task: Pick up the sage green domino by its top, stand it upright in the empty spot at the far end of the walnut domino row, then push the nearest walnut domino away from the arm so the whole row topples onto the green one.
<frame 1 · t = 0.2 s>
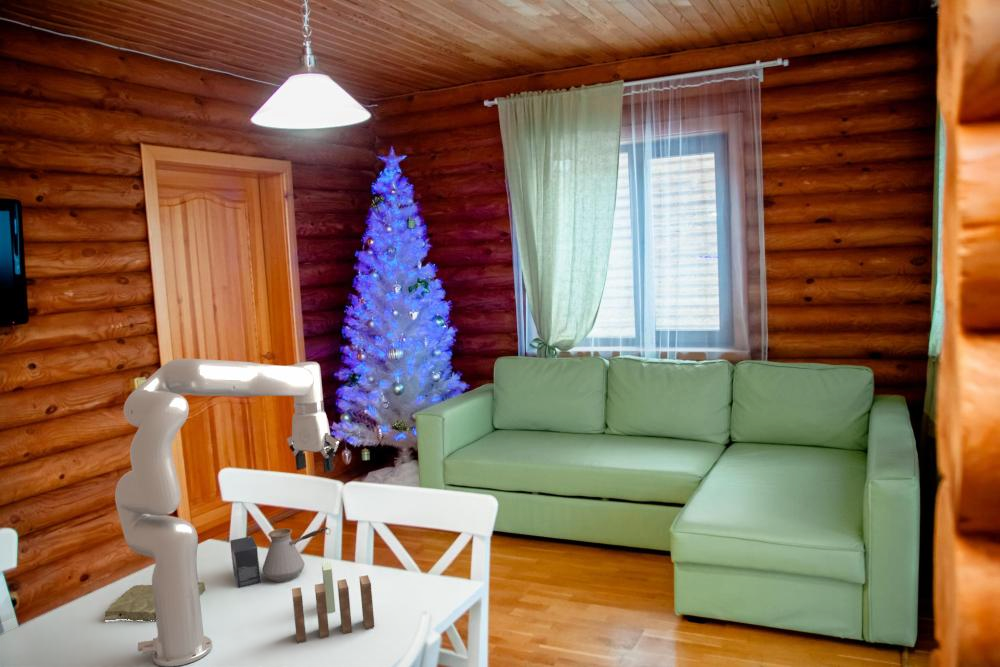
hand: (315, 470, 216), 31 cm above the table, tool pointing down, fingers open, 9 cm apart
domino 4: (368, 624, 190), on the table
decorative tile: (155, 609, 209), on the table
domino 3: (346, 628, 189), on the table
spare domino: (330, 608, 200), on the table
domino 2: (324, 633, 187), on the table
coffee pot: (299, 578, 221), on the table
domino 1: (301, 637, 186), on the table
small box: (247, 579, 223), on the table
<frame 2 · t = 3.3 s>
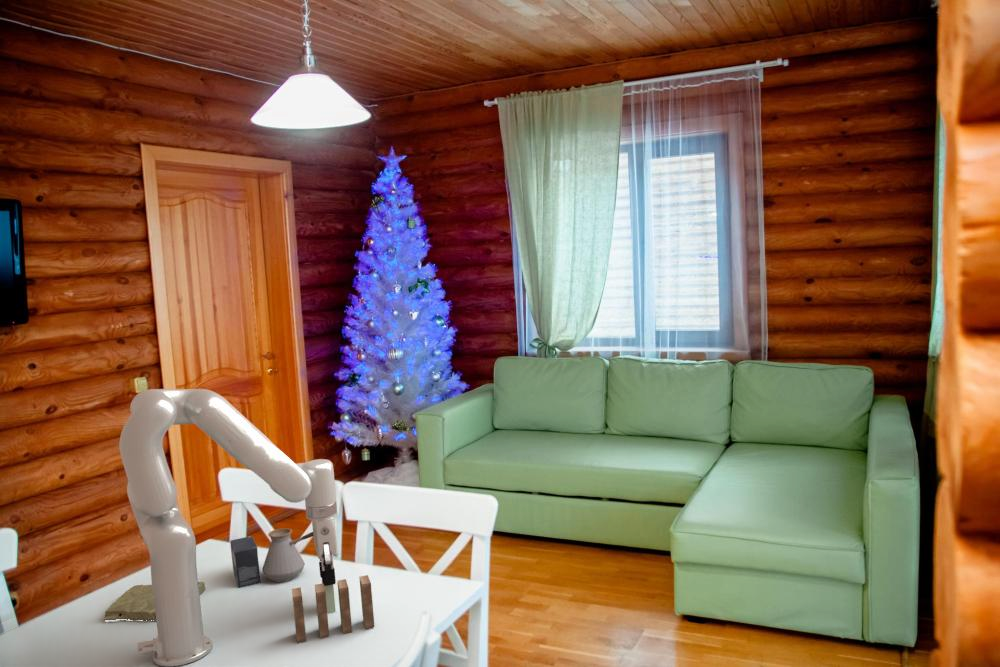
hand: (327, 579, 200), 7 cm above the table, tool pointing down, fingers closed on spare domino, 4 cm apart
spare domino: (330, 608, 200), on the table, touching gripper
everything else where it was.
when the fingers open (8 cm above the table, at t = 9.0 s): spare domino stays where it is, on the table.
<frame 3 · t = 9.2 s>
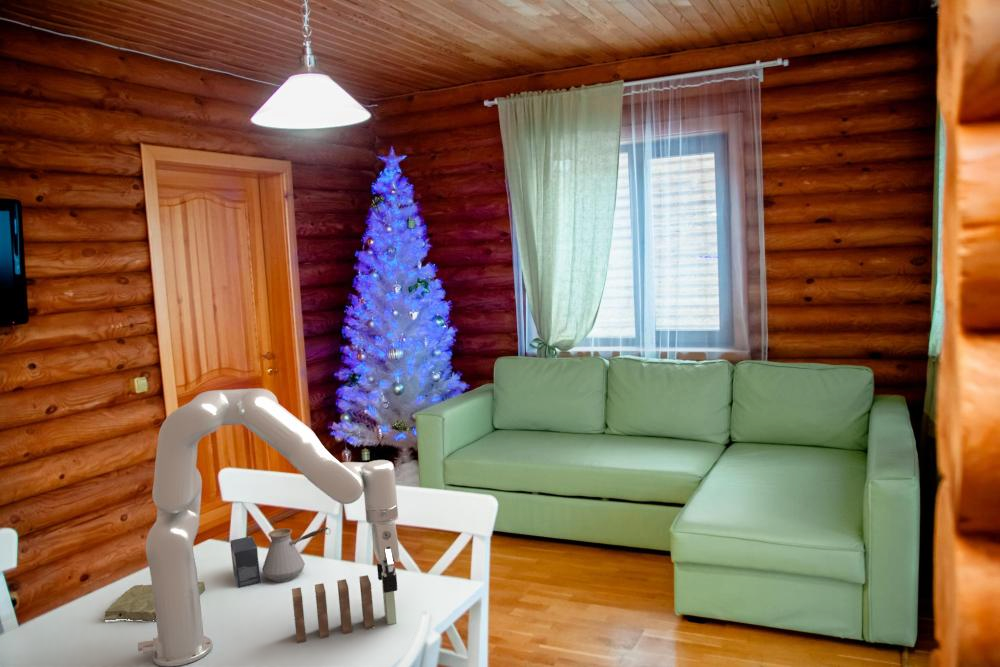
hand: (387, 584, 191), 9 cm above the table, tool pointing down, fingers open, 7 cm apart
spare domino: (390, 619, 192), on the table
everything else where it was.
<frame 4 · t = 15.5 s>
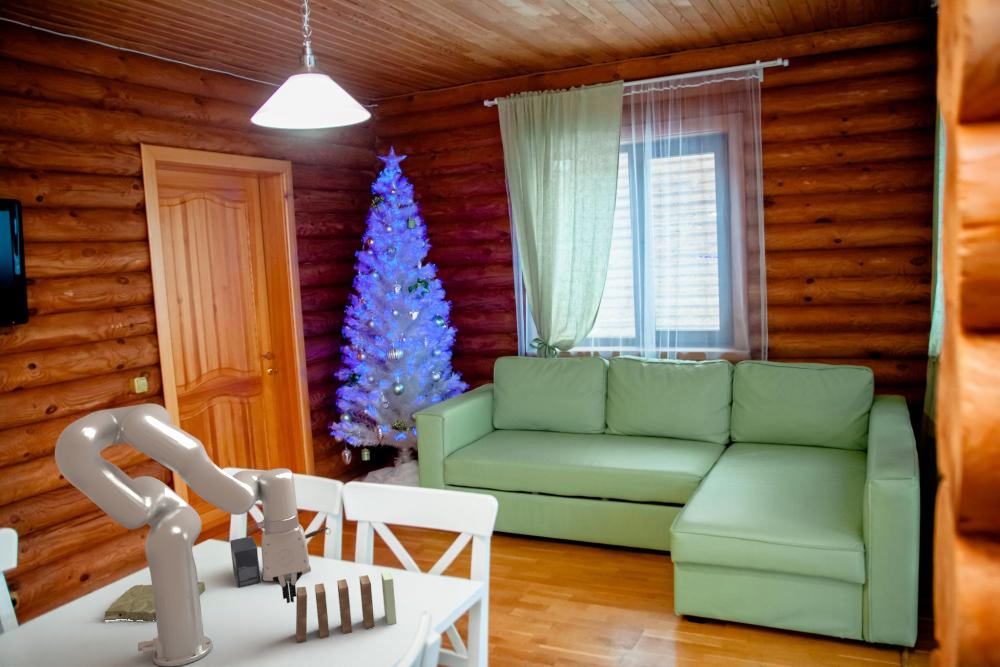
hand: (290, 600, 184), 9 cm above the table, tool pointing down, fingers closed
domino 1: (301, 637, 186), on the table, tilted 6°, touching gripper
everything else where it was.
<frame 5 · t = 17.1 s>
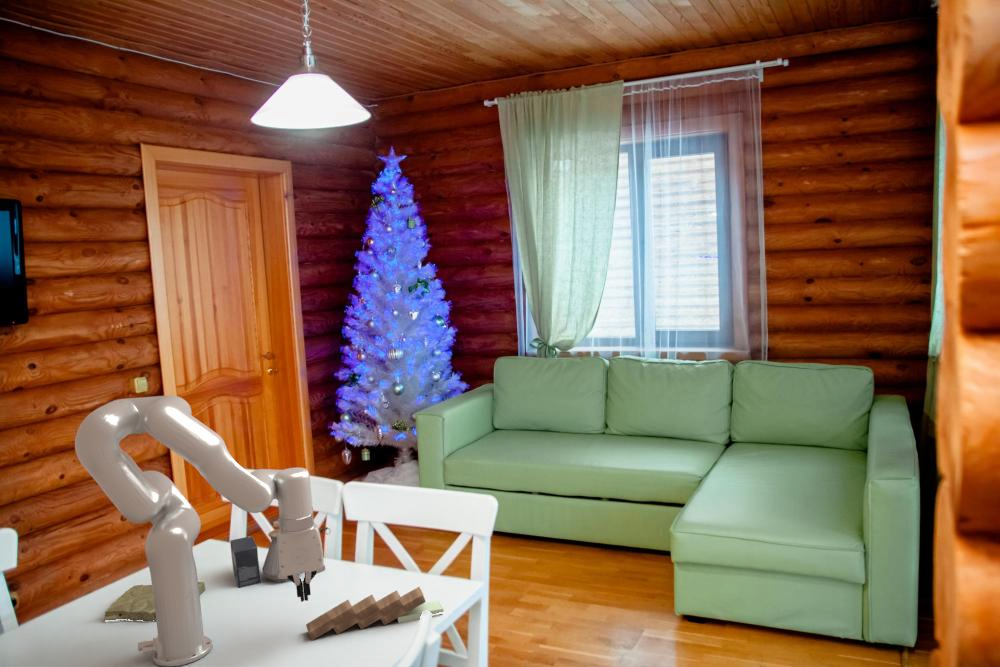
hand: (304, 598, 185), 9 cm above the table, tool pointing down, fingers closed
domino 4: (381, 617, 191), point 1 cm above the table, tilted 68°, touching domino 3
domino 3: (358, 621, 190), point 1 cm above the table, tilted 68°, touching domino 2, domino 4
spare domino: (396, 617, 192), on the table, tilted 90°
domino 2: (333, 626, 188), point 1 cm above the table, tilted 68°, touching domino 1, domino 3
domino 1: (309, 632, 186), point 1 cm above the table, tilted 69°, touching domino 2
everything else where it was.
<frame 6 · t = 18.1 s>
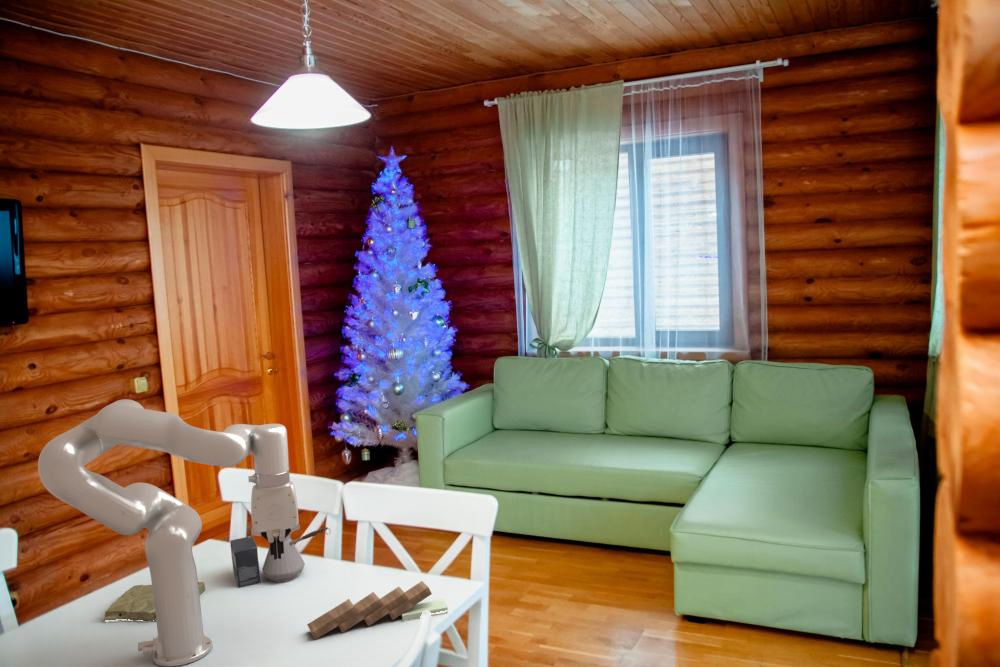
hand: (277, 557, 183), 20 cm above the table, tool pointing down, fingers closed
domino 4: (388, 613, 193), point 1 cm above the table, tilted 69°, touching domino 3
domino 3: (363, 619, 191), point 1 cm above the table, tilted 68°, touching domino 4
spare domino: (401, 615, 193), on the table, tilted 90°
domino 2: (337, 625, 188), point 1 cm above the table, tilted 69°, touching domino 1
everything else where it was.
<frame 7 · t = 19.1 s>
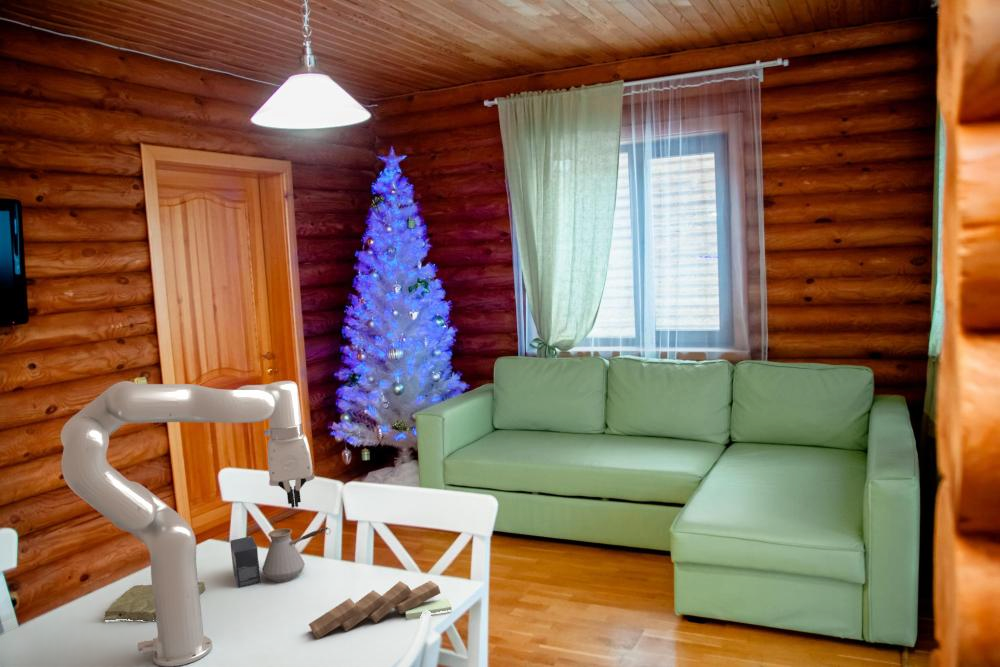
hand: (294, 505, 195), 28 cm above the table, tool pointing down, fingers closed
domino 4: (395, 607, 194), point 2 cm above the table, tilted 78°, touching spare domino
domino 3: (369, 616, 192), point 1 cm above the table, tilted 65°
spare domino: (405, 613, 194), on the table, tilted 90°, touching domino 4
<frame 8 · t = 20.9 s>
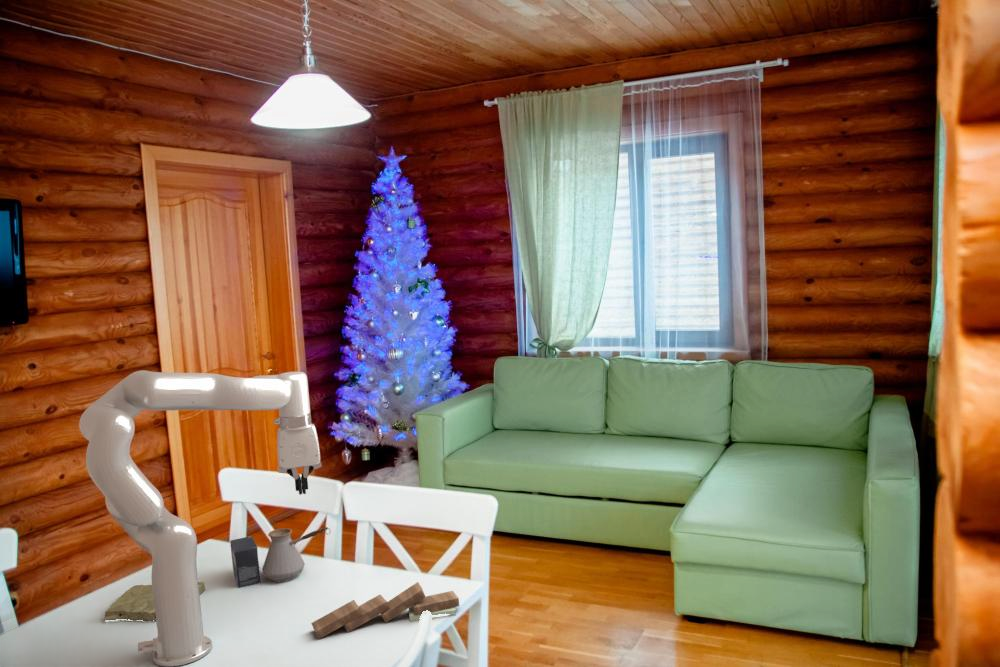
hand: (302, 492, 201), 29 cm above the table, tool pointing down, fingers closed
domino 4: (412, 607, 192), point 2 cm above the table, tilted 90°
domino 3: (382, 615, 192), point 1 cm above the table, tilted 64°
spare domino: (409, 615, 193), on the table, tilted 90°
domino 2: (343, 624, 189), point 1 cm above the table, tilted 75°, touching domino 1
at the end: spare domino tilted 90°; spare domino inside the target area (1.6 cm from its centre), on the table; domino 1 tilted 73° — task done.
